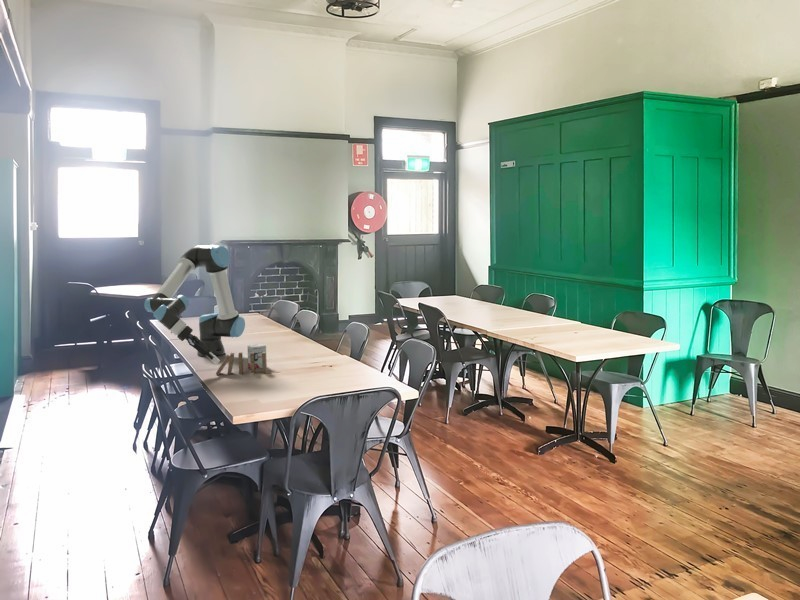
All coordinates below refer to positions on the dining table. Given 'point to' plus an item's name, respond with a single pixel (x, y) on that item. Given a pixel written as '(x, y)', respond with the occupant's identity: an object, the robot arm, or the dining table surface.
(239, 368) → the domino
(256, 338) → the dining table surface
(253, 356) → the domino
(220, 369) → the head domino
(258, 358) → the ink box
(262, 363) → the domino
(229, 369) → the domino
